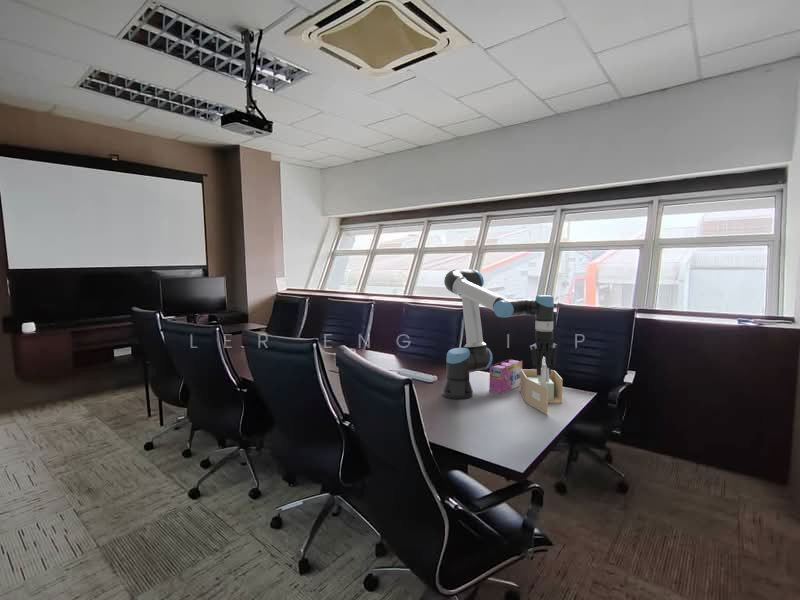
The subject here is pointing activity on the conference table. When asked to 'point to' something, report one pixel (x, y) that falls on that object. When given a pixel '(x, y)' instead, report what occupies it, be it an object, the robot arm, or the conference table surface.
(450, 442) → the conference table surface
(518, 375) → the gum box
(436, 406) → the conference table surface
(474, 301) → the robot arm
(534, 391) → the front flap
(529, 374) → the carton
